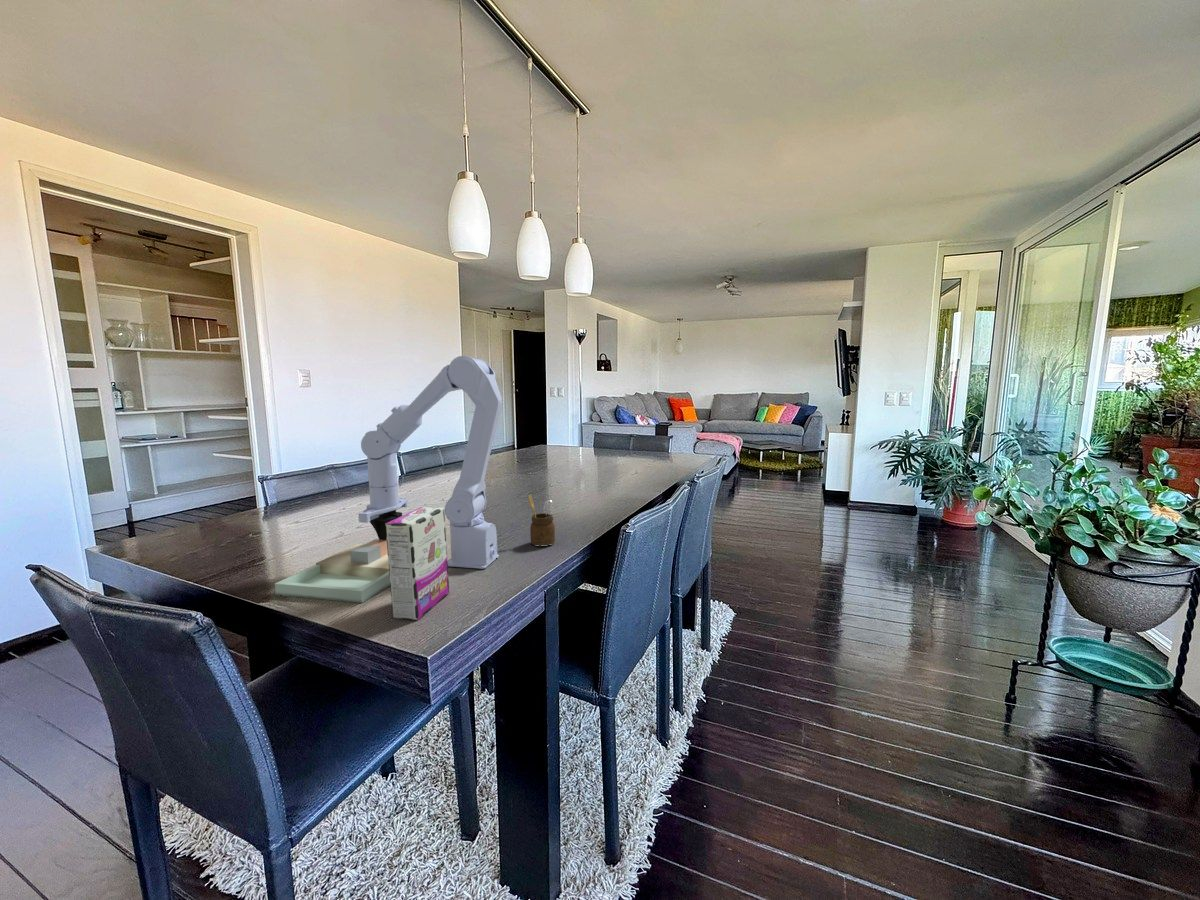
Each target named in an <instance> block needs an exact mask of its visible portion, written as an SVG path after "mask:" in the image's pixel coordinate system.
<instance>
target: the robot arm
mask: <svg viewBox="0 0 1200 900" xmlns="http://www.w3.org/2000/svg"><path fill="white" fill-rule="evenodd" d="M460 390H462V391H463V392H465V393H466V395H467V396H468V398H470V400H471V401H472V403H473V404H474V406H475V409H474V412H473V417H472V421H471V427H470V430H469V435H468V439H467V442H466V443H467V444H466V448H465V453H464V457H463V461H462V466H461V471H460V476H459V479H458V480H457V482H456V484H455V486H454V487H453V489H452V490H453V491H452V495H451V497H450V498H449V499H448V500H447V501H446V502H445V506H444V515H445V516H446V519H447V520H448V521H449V536H450V558H449V559H447V564H448V567H451V568H453V567H454V568H466V569H481V570H482V569H484V570H485V569H486V568H488V566H490V565H491V564H492V563H493V562H494V561H495V560H497V559H498V558H499V557H500V555H499V554H498V534H497V533H498V531H497V527H496V524H495V523H491V522H487V521H485V517H484V515H483V511H484V510H485V509H486V507H487V497H486V487H487V486H486V482H485V479H486V478H485V477H486V474H487V470H488V465H489V461H490V456H491V452H492V447H493V443H494V439H495V434H496V431H497V426H498V422H499V418H500V413H501V409H502V405H503V398H502V396H501V392H500V388H499V386H498V383H497V380H496V372H495V371H494V370H493V368H492V367H491V366H490V364H489V363H488V362H487V361H485V360H484V359H482V358H479V357H478V358H477V357H475V358H474V357H471V356H468V355H459V356H457V357H456V356H455V358H454V359H452V360H451V361H450V363H449V364H447V365H446V366H444V367H443V368H442V369H441V370H440V372H439V373H438V374H437V375H436V376H435V377H433V379H432V380H431V381H430V383H429V384H428V385H427V386H425V388H424V389H423V390H421V392H420V393H419V394H418V395H417V397H416V398H415V399H414V400H413V401H412V402H411V403H410V404H409V405H408V404H401V405H399V406H394V407H393V408H392V409H391V414H390V415H389V416H388V417H387V418H386V419H384V420H383V422H379V423H378V424H377V425H376V430H369V431H367V432H366V433H365V434H364V436H363V437H362V439H361V440H360V441H361V442H360V448H361V451H362V453H363V454H364V455H365V456H366V458H367V474H368V488H369V489H368V490H369V491H368V492H369V504H367V505H366V508H365V509H364V510H362V511H361V512H358V513H357V514H358V523H364V524H368V523H370V524H371V526H372V527H373V529H374V531H375V533H376V535H377V537H378V539H379V540H387V538H386V526H385V524H386V523H388V522H390V521H392V520H394V519H397V518H399V517H401V516H403V512H401V511H397V510H399V509H403V508H407V507H409V498H407V497H399V483H398V481H399V480H398V464H397V453H398V452H399V451H400V449H401V447H402V446H401V445H402V444H403V443H404V442H405V441H406V440H407V439H408V438H409V437H410V436H411V435H412V434H413V433H414V432H416V431H417V429H418V428H420V426H421V425H422V423H423V415H425V414H426V413H427V412H428V411H429V410H430V409H432V408H433V406H434V405H436V404H437V403H438V402H439V401H440V400H442V398H444V397H445V396H446V395H447V394H449V393H450V392H455V391H460ZM496 558H497V559H496Z"/></svg>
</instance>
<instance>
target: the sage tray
mask: <svg viewBox="0 0 1200 900" xmlns="http://www.w3.org/2000/svg"><path fill="white" fill-rule="evenodd" d="M388 587H390V576H389V572H387V573H385V574H384V575H382V576H380V577H379V578H372V577H359V576H347V575H334V574H322V573H321V569H320V565H316V564H314V565H311V566H310V567H307V568H305V569H303V570H301V571H299V572H296V573H294V574H292V575H291V576H288V577H286V578H284V579H282V580H281V579H280V580H279V581H277V582H275V583H274V591H275V592H274V593H275V596H280V595H282V596H281V597H293V598H301V599H302V598H305V599H314V600H316V599H317V600H326V601H337V602H347V603H356V604H357V603H358V604H359V603H360V604H363V603H364V602H366V601H367V600H370V599H371V598H373V597H374V596H376V595H377V594H378V593H380V592H382V591H383V590H385V589H387V588H388Z"/></svg>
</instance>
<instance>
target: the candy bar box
mask: <svg viewBox="0 0 1200 900" xmlns="http://www.w3.org/2000/svg"><path fill="white" fill-rule="evenodd" d="M445 516H446V515H445V507H442V506H441V507H439V506H420V507H418V508H416V509H414V510H412V511H409V512H408V513H405V514H402V516H401V517H399V518H397V519H394V520H392V521H390V522H388V523H386V524H385V526H386V538H387V550H388V563H389V576H390V586H389V587H390V597H391V599H390V600H391V613H392V618H393V619H395V620H396V619H397V620H411V621H412V620H413V621H419V620H420V619H421V618H422V617H423V615H424V616H425V615H426V614H428V612H429V611H431V609H433V608H434V607H435V606H436V605H438V603H440V602H441V601H443V599H444V598H446V597H447V595H448V594H450V581H449V566H448V564H447V561H448V551H447V535H446V533H447V532H446V519H445Z"/></svg>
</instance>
